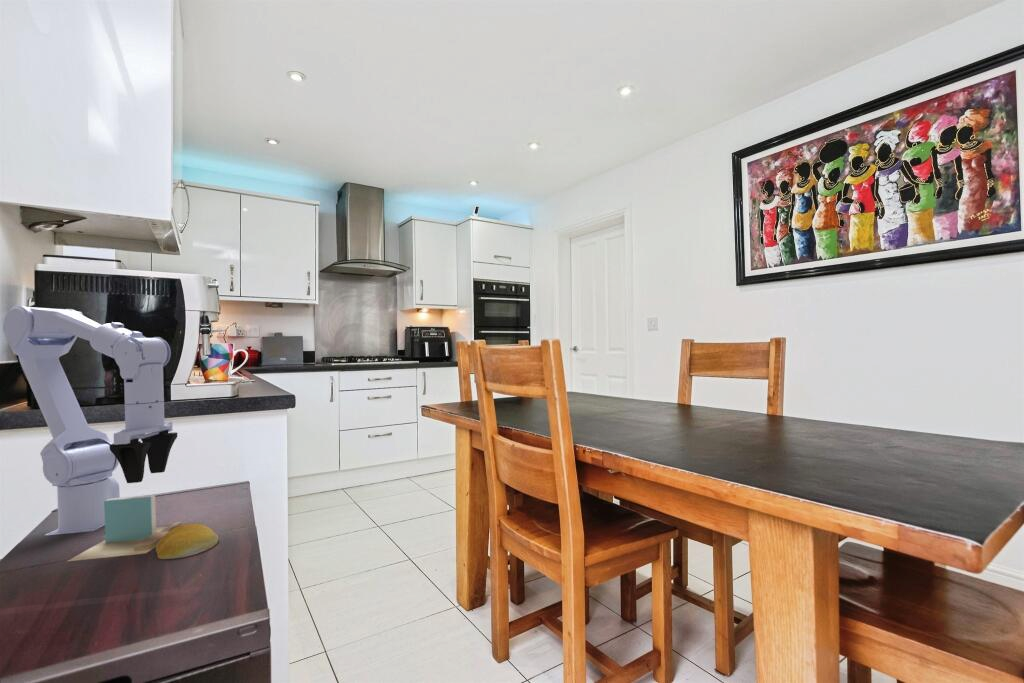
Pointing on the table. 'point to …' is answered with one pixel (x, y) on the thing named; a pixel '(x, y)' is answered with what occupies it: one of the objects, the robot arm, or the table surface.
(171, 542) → the bread roll
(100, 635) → the table surface
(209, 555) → the table surface
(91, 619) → the table surface
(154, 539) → the spatula
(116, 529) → the tile
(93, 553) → the board
